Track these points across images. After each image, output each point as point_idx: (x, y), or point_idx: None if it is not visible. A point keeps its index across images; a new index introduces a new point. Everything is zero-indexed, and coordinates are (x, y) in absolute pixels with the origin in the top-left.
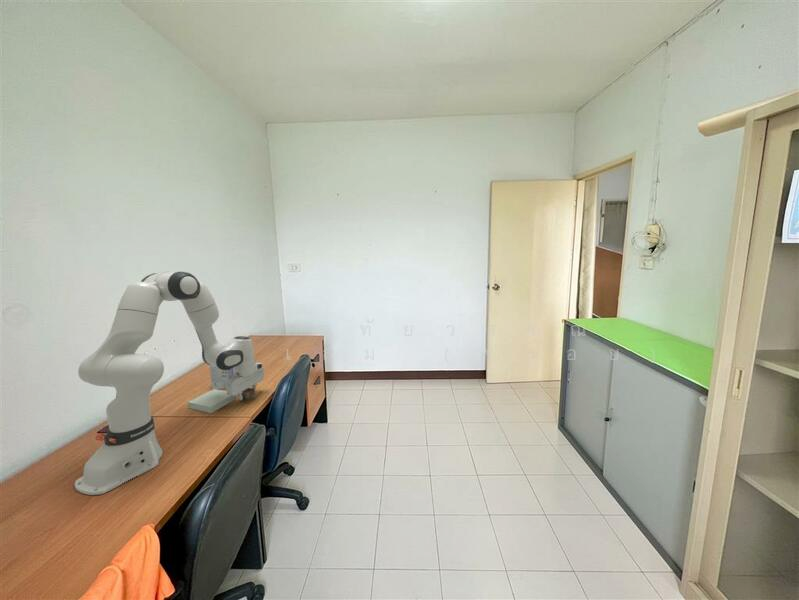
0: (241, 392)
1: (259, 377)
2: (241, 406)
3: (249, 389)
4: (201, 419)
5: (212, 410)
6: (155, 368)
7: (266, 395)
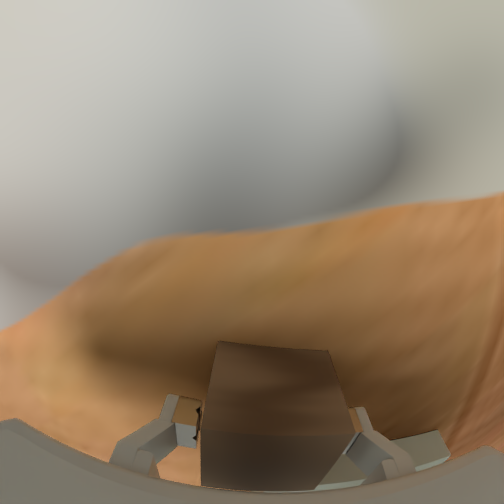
0: (389, 470)
1: (40, 493)
2: (387, 358)
3: (237, 463)
4: (476, 414)
5: (436, 439)
6: None
7: (128, 268)
